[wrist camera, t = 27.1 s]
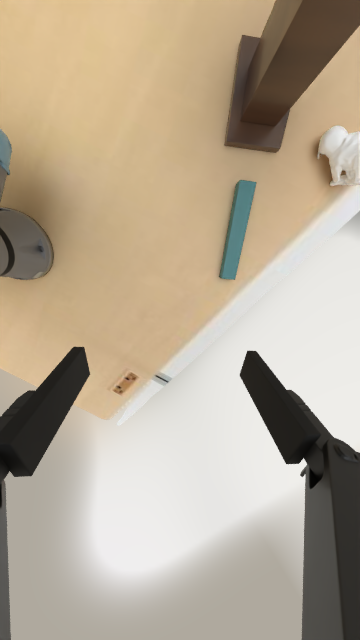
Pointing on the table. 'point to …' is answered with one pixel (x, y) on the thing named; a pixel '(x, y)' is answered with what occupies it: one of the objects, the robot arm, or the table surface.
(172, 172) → the table surface
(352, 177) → the white animal figurine
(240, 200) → the batten
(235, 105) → the stand
